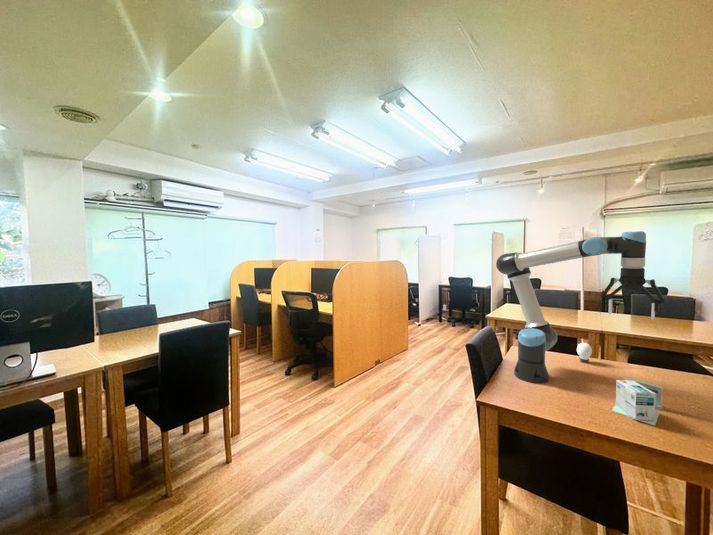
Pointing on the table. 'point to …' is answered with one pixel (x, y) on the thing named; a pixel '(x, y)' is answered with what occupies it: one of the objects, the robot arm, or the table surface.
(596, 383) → the table surface
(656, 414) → the pad
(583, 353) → the light bulb
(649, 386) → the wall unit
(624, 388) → the light bulb box
